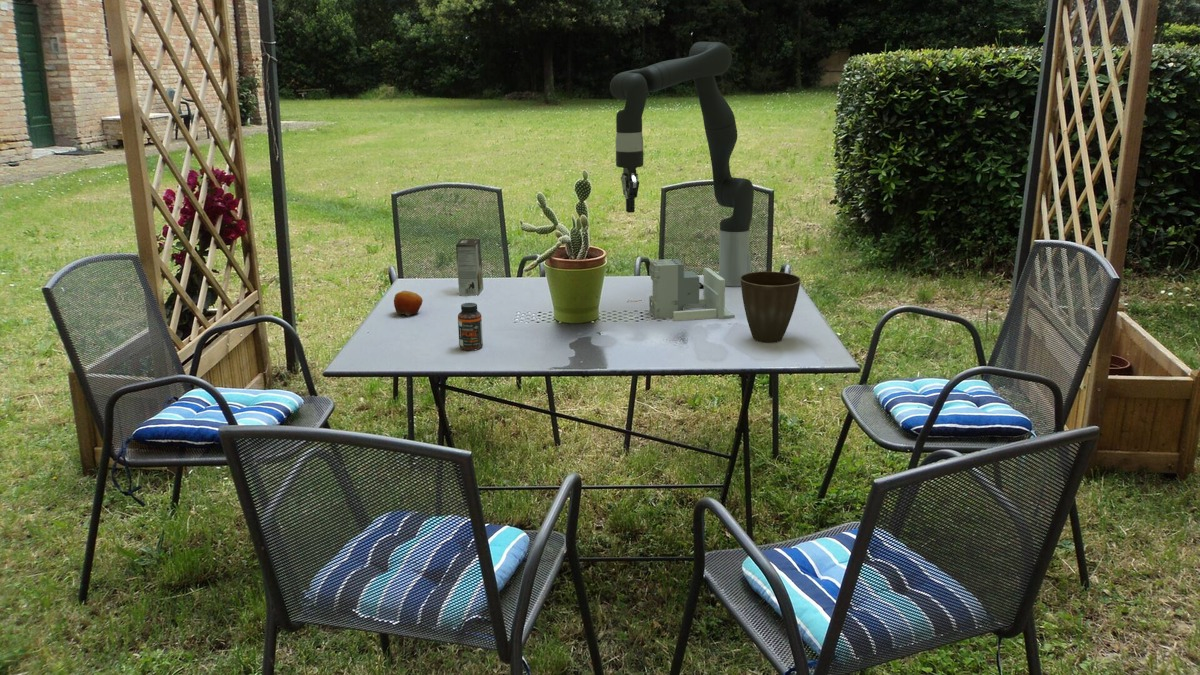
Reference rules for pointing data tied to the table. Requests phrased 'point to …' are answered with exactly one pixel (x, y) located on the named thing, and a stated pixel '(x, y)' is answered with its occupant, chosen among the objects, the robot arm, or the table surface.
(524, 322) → the table surface
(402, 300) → the fruit
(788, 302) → the plant pot
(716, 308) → the rail bracket
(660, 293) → the circuit breaker
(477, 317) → the supplement bottle
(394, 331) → the table surface
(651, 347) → the table surface
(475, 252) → the coffee box
